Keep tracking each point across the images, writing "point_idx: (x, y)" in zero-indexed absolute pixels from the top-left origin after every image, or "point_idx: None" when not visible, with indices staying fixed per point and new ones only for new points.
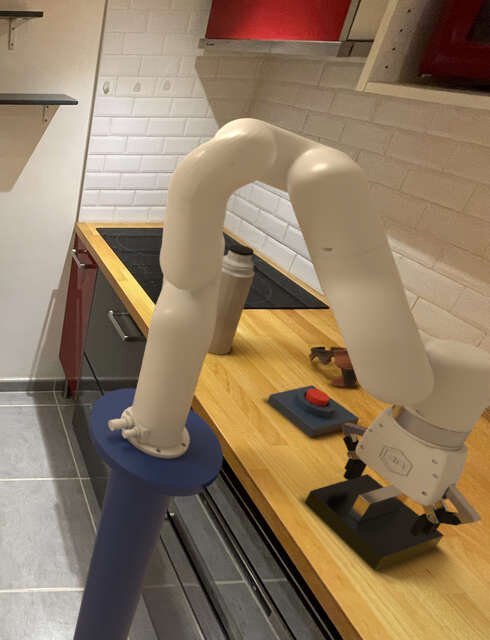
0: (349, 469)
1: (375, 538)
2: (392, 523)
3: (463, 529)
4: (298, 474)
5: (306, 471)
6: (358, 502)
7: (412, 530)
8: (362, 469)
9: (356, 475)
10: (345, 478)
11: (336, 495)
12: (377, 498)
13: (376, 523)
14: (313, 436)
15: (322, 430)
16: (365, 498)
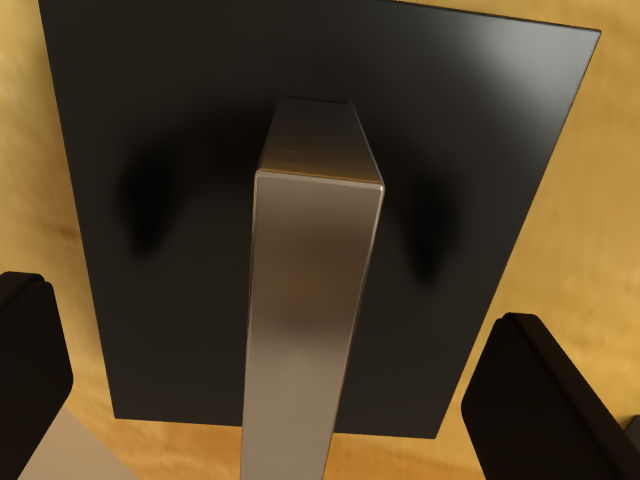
0: (576, 394)
1: (165, 83)
2: (216, 289)
3: (177, 473)
4: (621, 190)
5: (596, 245)
6: (347, 147)
7: (15, 290)
8: (495, 467)
9: (485, 392)
10: (517, 313)
11: (467, 181)
12: (274, 315)
13: (241, 208)
14: (632, 427)
15: None
16: (323, 203)
